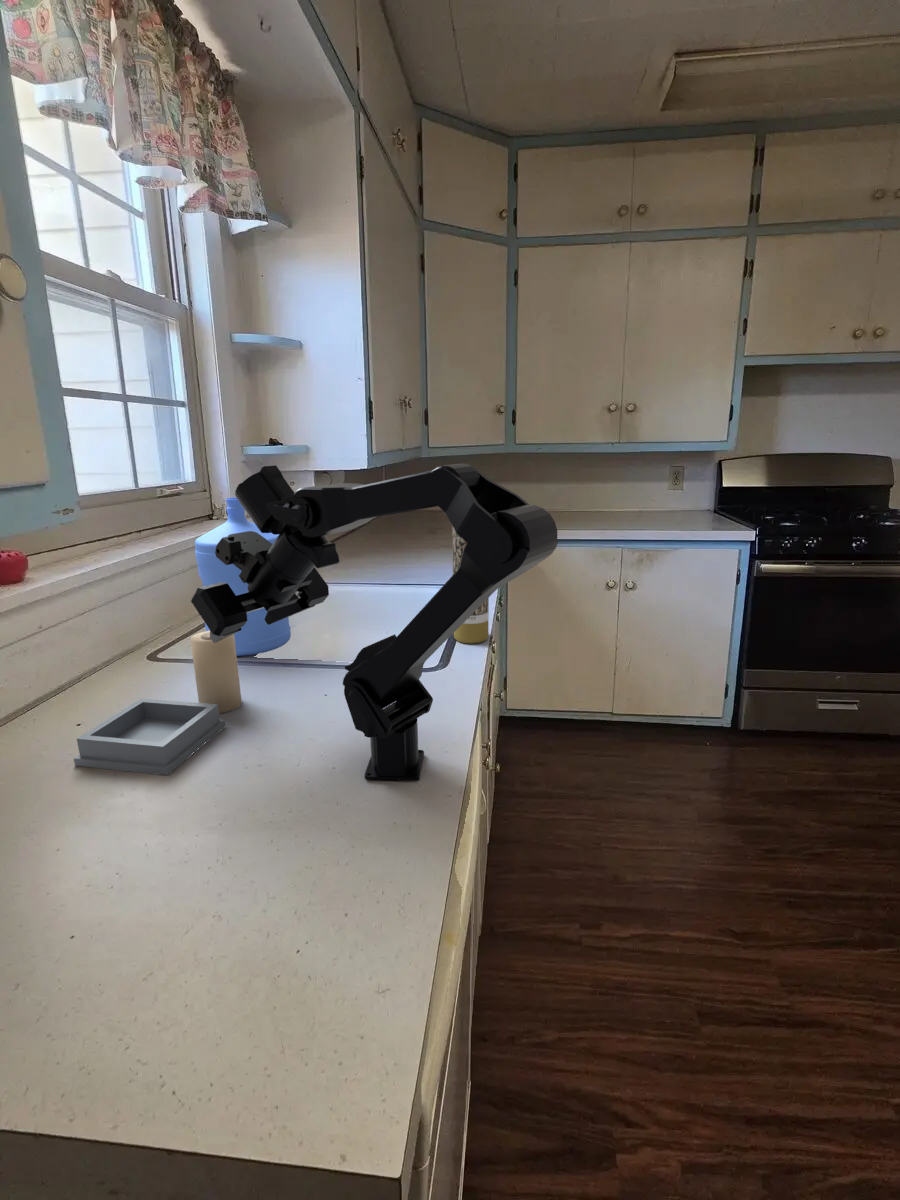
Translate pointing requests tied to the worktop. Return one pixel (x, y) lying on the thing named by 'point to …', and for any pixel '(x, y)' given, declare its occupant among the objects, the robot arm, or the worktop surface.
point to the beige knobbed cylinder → (216, 671)
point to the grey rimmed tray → (149, 736)
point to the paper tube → (478, 621)
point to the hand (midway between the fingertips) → (241, 630)
